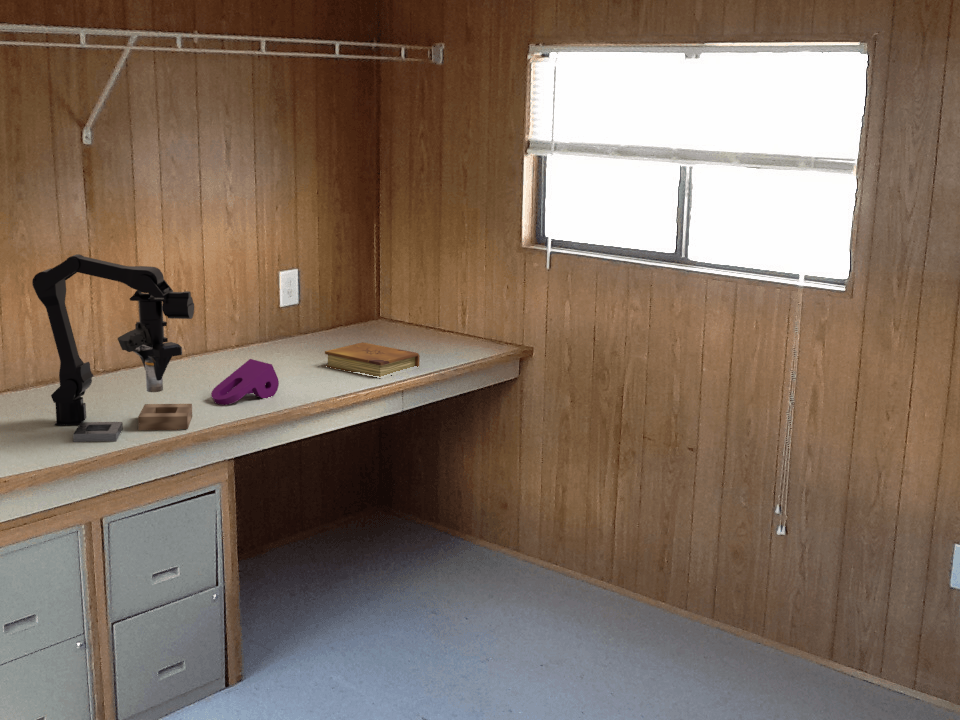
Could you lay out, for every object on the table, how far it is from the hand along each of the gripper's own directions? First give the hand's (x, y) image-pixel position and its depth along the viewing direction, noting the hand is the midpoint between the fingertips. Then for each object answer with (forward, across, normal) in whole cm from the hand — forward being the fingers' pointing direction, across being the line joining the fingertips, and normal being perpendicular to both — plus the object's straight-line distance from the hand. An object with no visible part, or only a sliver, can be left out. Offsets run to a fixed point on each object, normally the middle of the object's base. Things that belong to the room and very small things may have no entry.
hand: (154, 378), depth 287 cm
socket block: (+12, 0, +3) cm, 13 cm away
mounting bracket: (+13, -9, +31) cm, 35 cm away
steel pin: (+3, 0, 0) cm, 3 cm away
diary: (+14, -14, +83) cm, 85 cm away
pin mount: (+12, -1, -15) cm, 20 cm away
